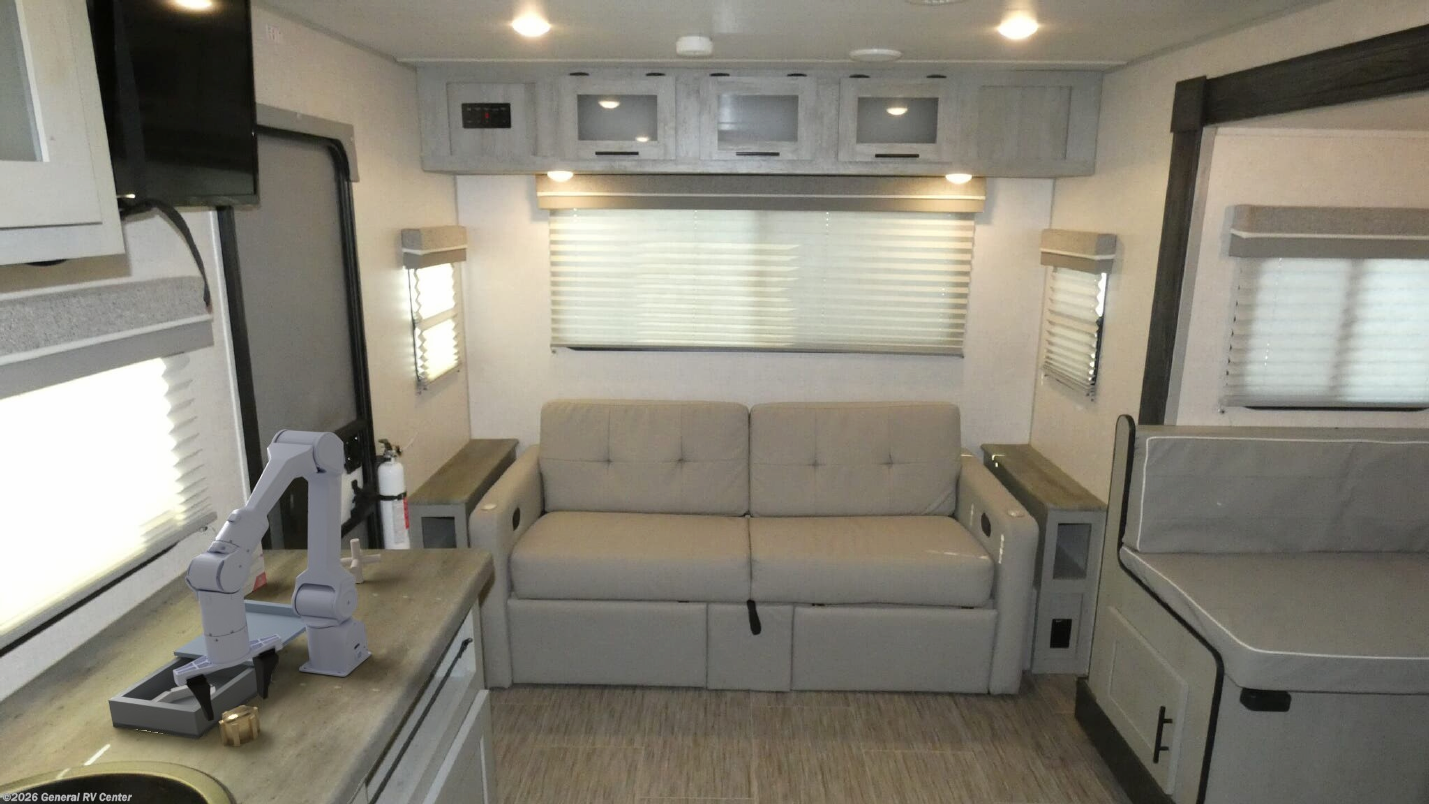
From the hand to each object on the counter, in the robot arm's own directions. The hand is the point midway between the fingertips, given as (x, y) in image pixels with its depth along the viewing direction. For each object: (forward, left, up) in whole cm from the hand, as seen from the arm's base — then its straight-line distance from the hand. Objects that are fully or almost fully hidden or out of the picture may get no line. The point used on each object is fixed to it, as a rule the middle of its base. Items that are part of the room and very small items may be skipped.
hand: (236, 706), depth 126 cm
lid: (+14, -19, 0) cm, 24 cm away
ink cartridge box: (+38, -44, -6) cm, 58 cm away
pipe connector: (+16, -53, -6) cm, 56 cm away
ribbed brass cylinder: (0, 0, -5) cm, 5 cm away
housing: (+14, -6, -5) cm, 16 cm away
